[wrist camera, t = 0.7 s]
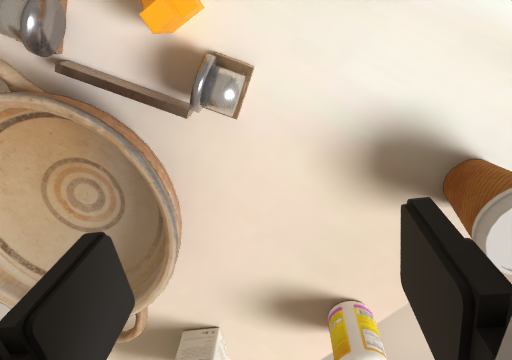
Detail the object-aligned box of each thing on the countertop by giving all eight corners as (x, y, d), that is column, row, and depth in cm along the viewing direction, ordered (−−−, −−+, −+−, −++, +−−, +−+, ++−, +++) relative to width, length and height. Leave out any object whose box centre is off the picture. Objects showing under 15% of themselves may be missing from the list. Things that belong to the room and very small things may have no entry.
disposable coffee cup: (428, 154, 41) (481, 201, 30) (515, 139, 39) (605, 182, 28) (430, 222, 44) (478, 286, 33) (510, 210, 43) (587, 273, 32)
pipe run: (26, -19, 36) (-23, -28, 30) (254, 66, 38) (249, 73, 32) (22, 53, 39) (-23, 57, 33) (234, 128, 41) (226, 145, 35)
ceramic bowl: (237, 277, 50) (227, 333, 41) (70, 310, 55) (28, 366, 46) (129, 6, 36) (78, -1, 27) (-80, 83, 42) (-182, 99, 32)
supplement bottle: (330, 333, 53) (343, 419, 42) (324, 301, 51) (337, 383, 39) (374, 329, 52) (400, 416, 41) (370, 296, 50) (397, 378, 38)
